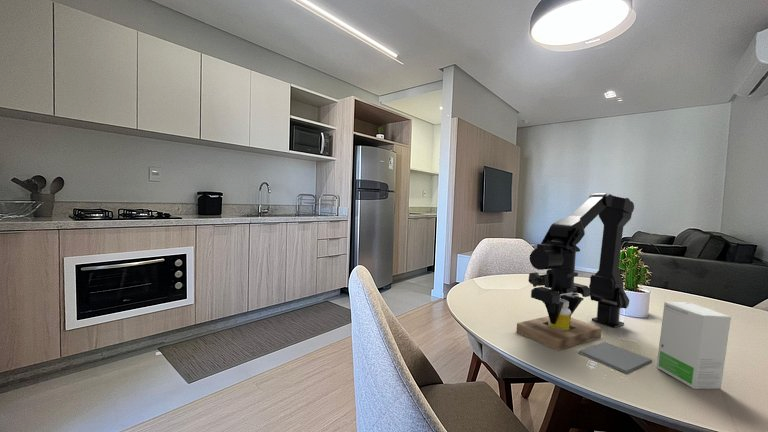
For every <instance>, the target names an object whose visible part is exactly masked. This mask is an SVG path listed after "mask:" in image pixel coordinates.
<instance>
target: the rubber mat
mask: <svg viewBox="0 0 768 432" xmlns="http://www.w3.org/2000/svg"><path fill="white" fill-rule="evenodd" d="M578 354H581V355H584V356H585V357H588V358H590V359H592V360H594V361H595V362H599V363H601V364H603V365H606V366H608V367H610V368H613V369H615V370H617V371H620V372H622V373H624V374H628V373H630V372H633V371H635V370H637V369H639V368H642V367H644V366H646V365H648V364H651V363H652V362H653V361H652V360H653V359H652V358H649V357H647V356H644V355H642V354H639V353H636V352H634V351H631V350H628V349H626V348H623V347H620V346H618V345H616V344H615V345H614V344H612V343H609V342H607V341H603V342H600V343H597V344H594V345H591V346H587V347H585V348H582V349H580V350H578Z"/></svg>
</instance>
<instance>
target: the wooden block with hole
mask: <svg viewBox="0 0 768 432" xmlns="http://www.w3.org/2000/svg"><path fill="white" fill-rule="evenodd" d="M548 319H549V315H546V316H543V317H538V318H533V319H530V320H525V321H521V322H517V323H516V332H517V333H518V334H520V335H522V336H524V337H527V338H529V339H531V340H534V341H536V342H537V343H540V344H543V345H544V346H547V347H549V348H551V349H553V350H556V351H560V350H563V349H567V348H570V347H572V346H573V347H574V346H576V345H579V344H581V343H585V342H589V341H592V340H594V339H595V340H596V339H598V338H601V336H602V327H600V326H596V325H593V324H590V323H588V322H585V321H582V320H579V319H577V318H574V317H571V321H570V330H567V331H564V332H563V331H560V330H558V329H555V328H553V327H550V326H548Z"/></svg>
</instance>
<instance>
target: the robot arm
mask: <svg viewBox="0 0 768 432" xmlns="http://www.w3.org/2000/svg"><path fill="white" fill-rule="evenodd" d="M634 210H635V204H634V202H633V201H632V200H630V198H628V197H620V196H616V195H613V194H611V193H607V192H606V193H605V192H604V193H593V194H590V195H589V197H588V199H587V200H585V202H584V203H582V204H581V205H580V206H579V207H578V208H576V210H574V212H572V213H571V214H570V215H569V216H567V217H564V218H560V219H557V220H556V221H554V222H553V223H552V224H551V225H550V226H549V228H548V231H547V232H546V233H545V236H544V237H543V239H542V241H541V243H537V245H536V248H535V249H533V250H532V251H531V252H530V254H529V262H530V264H531V266H532V267H533V268H534V269H536V270H537V271H539V270H543V271H544V270H546V273H545V274H539V273H538V272H536V271H535V272H530V273H529V275H528V283H529V284H530V285H532V287H533V288H532V289H531V290H530V298H531V299H534V300H538V301H541V302H542V303H543V304H544V305H545V308H546V311H547V316H549V318H550V322H551V323H552V324H555V323H556V321H557V319H558V317H559V314H560V312H561V309H562V307H563V304H564V302H560V299H564V300H567V301H569V307H568V309H569V310H570V311H571V316H572V315H573V314H574V312H575V311H576V309H577V308H578V306H579V305H580V304H581V302H583V301H584V298H588V297H590V300H591V301H594V302H597V311H596V317H592V318H591V321H594V322H596V323H599V324H602V325H604V326H608V327H611V328H617V327H620V326H624V325H625V323H624V322H622V321H620V315H621V314H620V313H621V312H620V311H621V309H628V307H629V304H630V298H629V297H628V295H627V293H626V291H625V290H624V288H625V287H624V281H623V279H622V277H621V276H620V274H619V267H620V257H621V252H622V251H621V249H622V241H623V233H624V231H623V230H624V226H626V225H627V224H628V222H629V221H631V219H632V215H633V212H634ZM597 217H598V218H599V219H600V221H601V223H602V224H603V229H602V238H601V239H602V240H601V248H600V256H599V263H598V264H599V266H598V270H597V271H596V272H595V274H591V276H590V278H589V279H590V281H589V285H585V284H581V283H577V282H575V277H578V275H579V274H578V273H579V272H576V271H575V270H576V269H575V267H576V256H577V255H576V254H577V253H579V252H581V249H580V248H579V246H577V244H579V243H580V242H581V241H582V239H583V238H584V236H585V235H586V233H585V229H586V227H588V225H589V224H591V223H592V221H594V220H595V219H596V218H597ZM579 294H580V295H581V296H582V297H581V296H580V295H579ZM583 297H584V298H583Z"/></svg>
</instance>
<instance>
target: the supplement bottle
mask: <svg viewBox="0 0 768 432" xmlns="http://www.w3.org/2000/svg"><path fill="white" fill-rule="evenodd" d="M560 302H564V304H563V307H562V309H561V312H560V314H559V317H558V319H557V321H556V323H555V324H552V323H551V322H550V318H549V319H548V326H550V327H553V328H555V329H558V330H560V331H563V332H564V331H567V330H570V321H571V318H572V315H571V311H570V310H569V309H568V307H569V301H567V300H564V299H561V298H560Z"/></svg>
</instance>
